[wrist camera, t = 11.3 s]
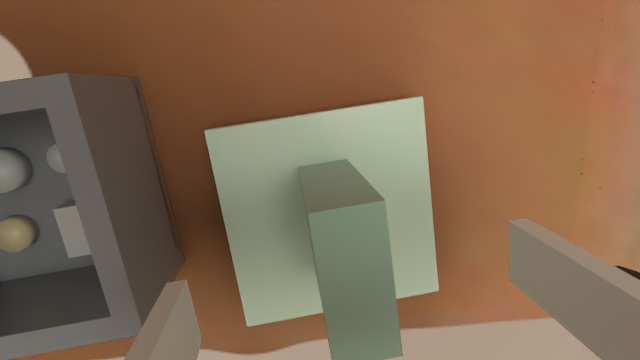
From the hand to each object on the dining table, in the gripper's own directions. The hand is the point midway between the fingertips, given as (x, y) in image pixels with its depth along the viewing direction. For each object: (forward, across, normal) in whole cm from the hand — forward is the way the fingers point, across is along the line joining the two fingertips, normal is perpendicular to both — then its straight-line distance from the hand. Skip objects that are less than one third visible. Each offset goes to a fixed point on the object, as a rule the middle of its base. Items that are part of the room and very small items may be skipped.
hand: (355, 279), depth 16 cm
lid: (+11, 0, -1) cm, 11 cm away
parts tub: (+11, -16, +4) cm, 20 cm away
